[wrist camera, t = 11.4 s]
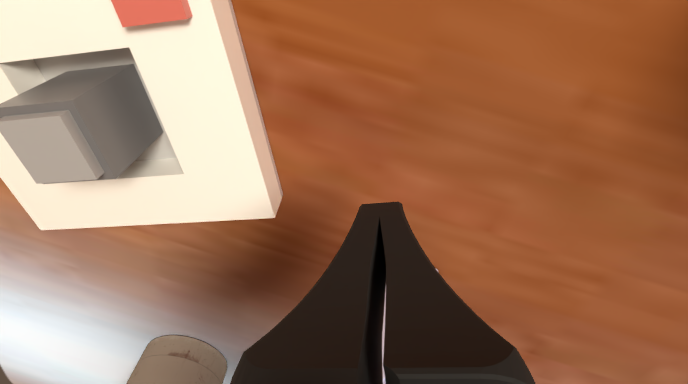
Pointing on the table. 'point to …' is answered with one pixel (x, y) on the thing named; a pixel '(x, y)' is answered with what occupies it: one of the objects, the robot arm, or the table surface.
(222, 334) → the table surface
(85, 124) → the plug
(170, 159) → the faceplate
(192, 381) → the thermos bottle
